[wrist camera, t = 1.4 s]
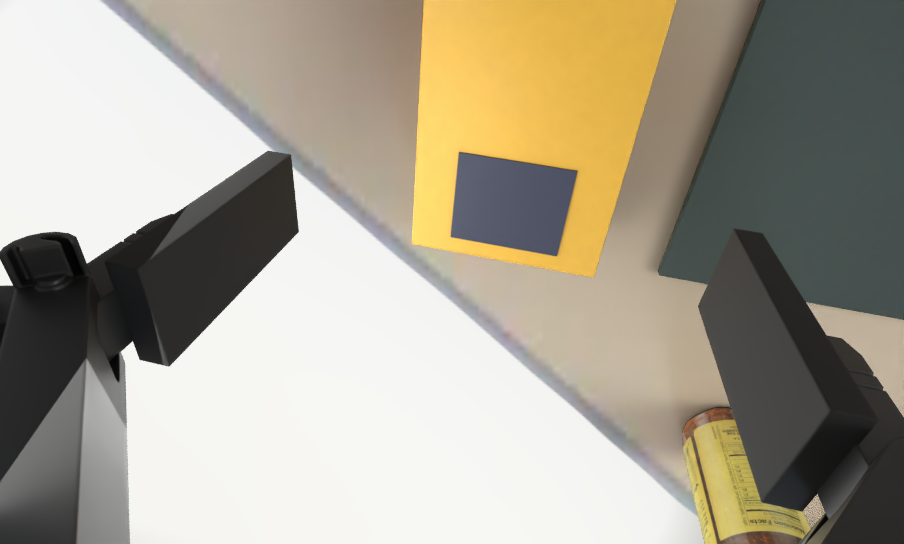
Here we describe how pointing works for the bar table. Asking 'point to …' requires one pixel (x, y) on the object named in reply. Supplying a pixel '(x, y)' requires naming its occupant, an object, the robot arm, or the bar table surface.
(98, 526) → the robot arm
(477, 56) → the yellow box with panel
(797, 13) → the desk mat
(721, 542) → the sauce bottle
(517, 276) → the bar table surface
